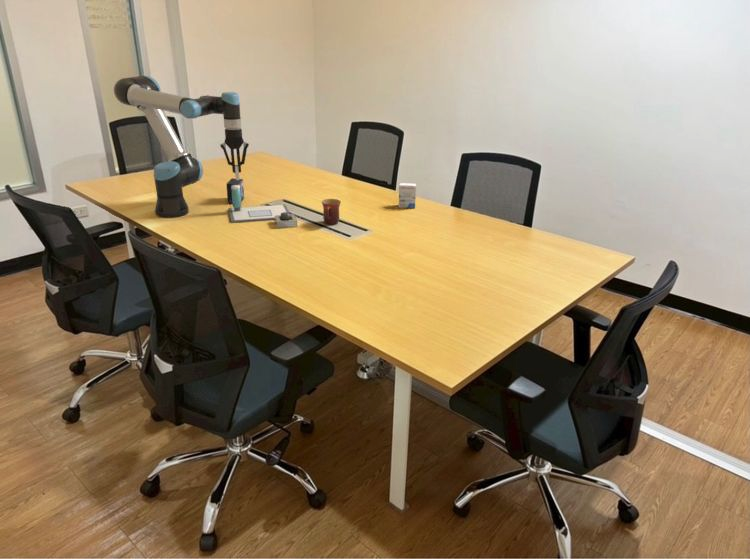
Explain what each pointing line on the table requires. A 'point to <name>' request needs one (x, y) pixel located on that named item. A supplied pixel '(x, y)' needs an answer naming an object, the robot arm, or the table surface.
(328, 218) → the mug
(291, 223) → the button housing
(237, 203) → the marker
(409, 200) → the ink box
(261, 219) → the sheet
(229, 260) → the table surface
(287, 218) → the button
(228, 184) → the small box
